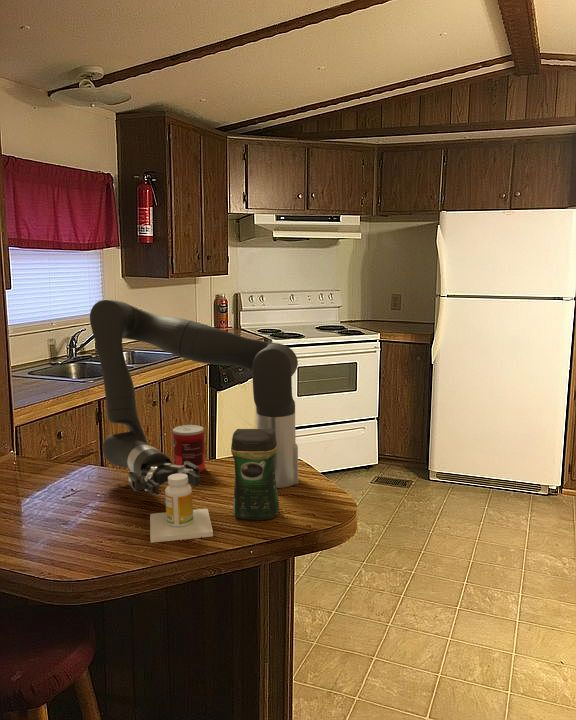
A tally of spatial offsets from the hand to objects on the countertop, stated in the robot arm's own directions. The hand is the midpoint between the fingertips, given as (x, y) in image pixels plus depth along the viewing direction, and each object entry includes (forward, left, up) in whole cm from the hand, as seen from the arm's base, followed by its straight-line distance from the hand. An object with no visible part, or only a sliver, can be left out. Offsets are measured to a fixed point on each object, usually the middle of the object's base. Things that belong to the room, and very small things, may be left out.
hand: (177, 486), depth 133 cm
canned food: (-4, -34, -9) cm, 36 cm away
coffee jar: (-16, -2, -9) cm, 19 cm away
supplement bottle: (0, +1, -8) cm, 8 cm away
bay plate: (0, +1, -8) cm, 8 cm away
